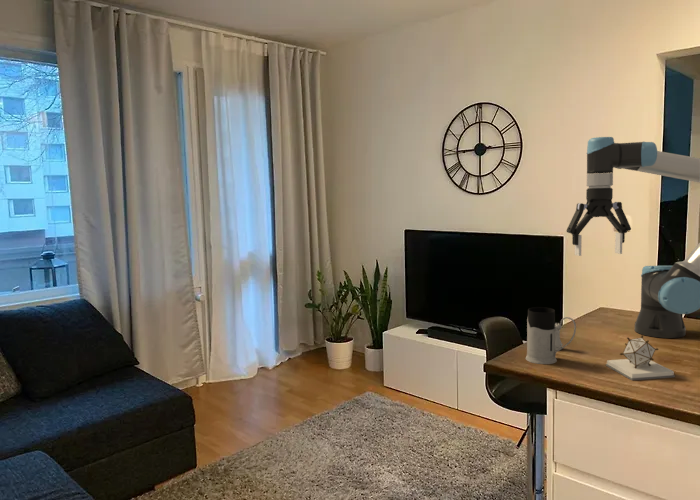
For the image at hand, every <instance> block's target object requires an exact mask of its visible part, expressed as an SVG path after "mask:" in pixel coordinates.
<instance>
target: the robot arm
mask: <svg viewBox="0 0 700 500" xmlns="http://www.w3.org/2000/svg"><path fill="white" fill-rule="evenodd" d="M614 140H615V139H614V137H612V136H596V137H591V138H590V139H588V140H587V149H586V187H588V188H587V189H586V196H585V197H586V203H583V202H582V203H581V202H577V203H576V208H575V212H574V214H573V216H572V217H571V220H570V221H569V224H568V226H567V229H566V231H565V232H566V233H568V234H571V235H572V245H573V246H574V256H578V257H579V256H580V257H581V256H582V234H580V233H581V232H582V231H583V230H584V228H585V227H586V226H587V225H588V224H589V222H590V221H591V219H593V218H606V219H607V220H608V221H609V222H610V224H611V225H612V227H614V229H615V230H616V231H617V232H615V233H614V236H615V237H614V238H615V239H614V254H619V255H621V254H623V244H624V243H625V237H626V236H625V235H626V234H627V233H628V231H629V232H631V230H632V226H631V225H630V223H629V220H628V218H627V216H626V214H625V212H624V209H623V203H622V202H621V201H614V202H612V201H613V198H614V197H613V196H614V195H613V190H614V189H613V188H612V186H613V185H614V169H617V170H622V169H623V170H629V171H633V172H634V171H636V172H641V173H647V174H651V175H656V176H662V177H663V176H664V177H668V178H673V179H679V180H685V181H688V182H689V181H690V182H694V183H700V157H695V156H688V155H683V154H677V153H672V152H665V151H660V150H659V151H658V147H657V145H656V143H655V142H654V141H637V142H635V141H634V142H633V141H632V142H622V143H621V142H620V143H619V142H615V141H614ZM612 209H613V210H614V212H615V215H616V217H617V218H616V217H615V215H614V213H613V212H612ZM585 210H586V212H585V214H584V215H583V213H584V211H585ZM582 216H583V217H582ZM640 277H641V289H640V290H641V291H640V292H641V293H640V294H641V295H640V310H639V312H638V314H637V318H636V320H635V322H634V332H635V333H637V334H640V335H641V336H642V335H643V336H646V337H647V336H648V337H654V338H663V339H679V338H683V337H685V336H686V335H687V333H686V331H687V330H686V328H687V327H686V326H685V325H686V324H685V322H684V319H683V316H682V315H689V314H692V313H695V312H697V311H698V310H700V242H699V243H698V244H697V245H696V246H695V248H694V249H692V251H691V252H690V253H689V255H688V256H687V257H686V258H685V259H684V260H683V261H677V262H674V264H673V265H645V266H643V267H642V269H641V274H640Z"/></svg>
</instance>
